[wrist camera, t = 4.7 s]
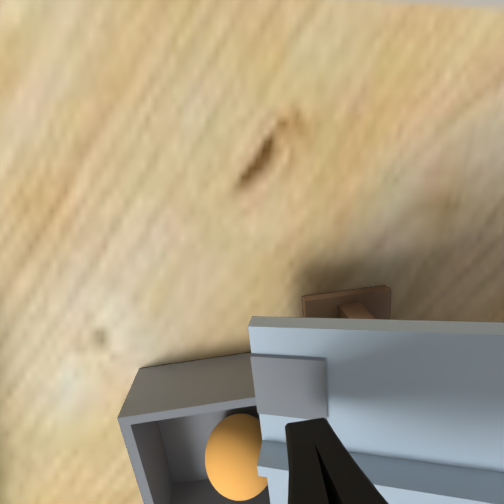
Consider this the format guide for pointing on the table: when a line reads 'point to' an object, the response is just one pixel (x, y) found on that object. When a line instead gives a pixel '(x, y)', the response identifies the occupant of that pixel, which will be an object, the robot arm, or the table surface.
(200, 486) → the grey open box
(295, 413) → the light blue flat piece
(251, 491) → the ball
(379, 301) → the stand
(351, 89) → the table surface
